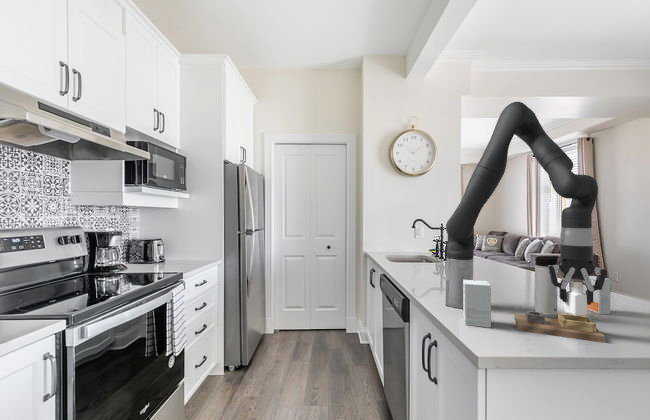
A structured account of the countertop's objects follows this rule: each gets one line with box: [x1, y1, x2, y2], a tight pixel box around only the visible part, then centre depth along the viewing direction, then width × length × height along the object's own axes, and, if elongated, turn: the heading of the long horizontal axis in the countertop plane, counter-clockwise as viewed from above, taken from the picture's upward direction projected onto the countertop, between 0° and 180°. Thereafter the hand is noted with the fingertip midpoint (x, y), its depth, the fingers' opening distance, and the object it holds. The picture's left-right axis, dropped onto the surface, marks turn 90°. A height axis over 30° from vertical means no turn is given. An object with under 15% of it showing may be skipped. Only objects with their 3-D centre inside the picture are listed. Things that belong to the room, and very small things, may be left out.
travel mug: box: [534, 255, 560, 319], centre depth 112 cm, size 6×7×20 cm
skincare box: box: [584, 275, 612, 315], centre depth 117 cm, size 6×4×12 cm
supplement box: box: [462, 279, 492, 328], centre depth 104 cm, size 7×7×13 cm
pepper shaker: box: [564, 279, 588, 317], centre depth 96 cm, size 4×4×10 cm
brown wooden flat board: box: [513, 310, 606, 343], centre depth 98 cm, size 20×12×4 cm, turn 65°
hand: (576, 302), depth 96 cm, fingers closed on pepper shaker, 5 cm apart
